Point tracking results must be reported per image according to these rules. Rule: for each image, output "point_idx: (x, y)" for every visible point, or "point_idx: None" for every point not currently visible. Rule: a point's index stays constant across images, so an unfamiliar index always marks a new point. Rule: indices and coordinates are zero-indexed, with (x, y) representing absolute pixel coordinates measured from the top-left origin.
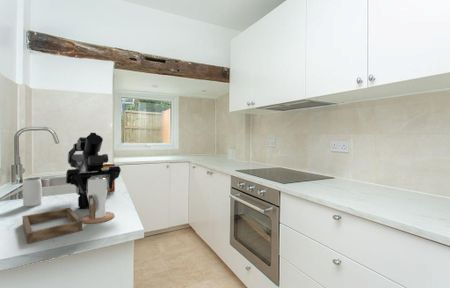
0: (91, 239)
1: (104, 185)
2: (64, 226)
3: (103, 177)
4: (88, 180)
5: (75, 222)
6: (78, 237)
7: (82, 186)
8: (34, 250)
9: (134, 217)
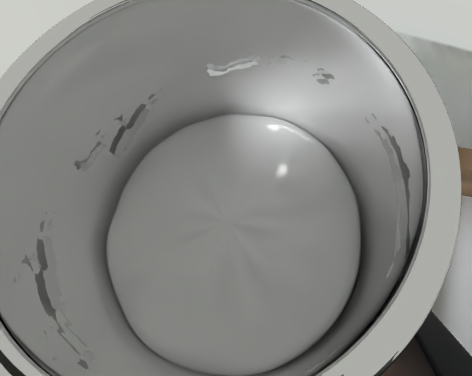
0: (410, 40)
1: (187, 74)
2: None
3: None
4: (438, 151)
5: (458, 152)
6: (445, 96)
7: (452, 362)
8: None
9: None
